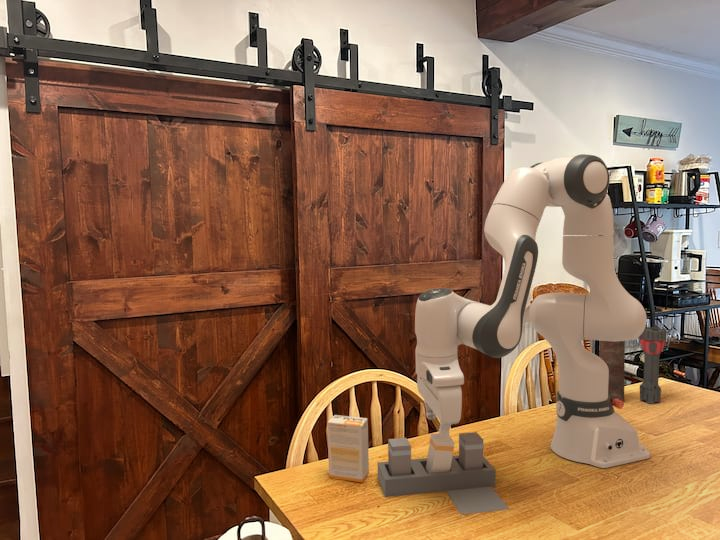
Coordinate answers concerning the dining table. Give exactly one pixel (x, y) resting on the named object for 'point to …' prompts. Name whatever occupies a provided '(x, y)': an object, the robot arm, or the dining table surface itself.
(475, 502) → the mat
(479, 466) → the twin plug
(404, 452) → the twin plug
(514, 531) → the dining table surface
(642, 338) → the flashlight
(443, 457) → the plug
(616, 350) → the brown tall block
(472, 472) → the strip
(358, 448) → the supplement box
